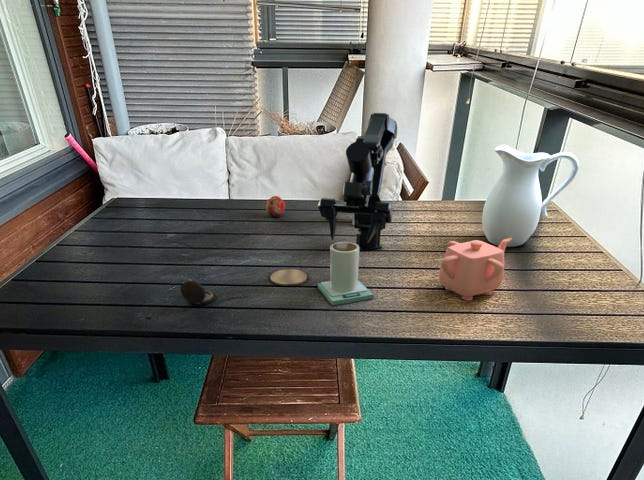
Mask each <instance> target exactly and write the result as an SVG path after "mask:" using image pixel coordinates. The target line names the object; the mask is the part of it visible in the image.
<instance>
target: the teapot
mask: <svg viewBox="0 0 644 480" xmlns="http://www.w3.org/2000/svg"><path fill="white" fill-rule="evenodd" d="M511 240H512V238H506V239H504V240H503V241H502V242H501V243H500V244H499V245H497V246H495V245H492V244H491V243H487V242H485V241H483V240H479V239H473V240H470V241H465V242H458V241H456V240H455V241H454V240H451V241H448V243H447V245H446V246H447V249H446V251H445V253H444V256H443V258H442V259H441V262H440V267H439V273H438V279H439V283H440V284H441V285H443V286H444V287H445V290H447V291H452V292H454V293H456V294H458V295H460V296H461V299H462V300H464V301H472V300H473V298H474V297H473V296H477V295H484V296H491V295H492V291H494V290H497V289H499V287H500V286H501V284H502V283H503V280H504V275H505V251H506V248H507V247H508V246H507V244H508V243H509V242H510V241H511Z"/></svg>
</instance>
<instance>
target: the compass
mask: <svg viewBox="0 0 644 480" xmlns="http://www.w3.org/2000/svg"><path fill="white" fill-rule="evenodd" d="M180 293H181V295H182V297H183V298H184V299H185V300H186V301H188V302H190V303H191V304H193V305H197V306H198V305H199V306H201V305H202V306H203V305H207V304H210V303H212V302H213V301H214V300H215V294H214V293H213V292H211V291H209V290H205V287H204V286H203V285H202V284H201V283H200V282H198V281H196V280H194V279H193V278H191V279H187V280H185V281H183V282H182V284H181V285H180Z"/></svg>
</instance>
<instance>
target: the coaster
mask: <svg viewBox="0 0 644 480" xmlns="http://www.w3.org/2000/svg"><path fill="white" fill-rule="evenodd" d="M307 280H308V275H307V273H306V272H304V271H302V270H299V269H292V268H287V269H279V270H277V271H274V272H272V274H271V275H270V281H271V283H273V284H275V285H278V286H284V287H285V286H286V287H291V286H297V285H300V284H304V282H306V281H307Z"/></svg>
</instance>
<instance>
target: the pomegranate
mask: <svg viewBox="0 0 644 480" xmlns="http://www.w3.org/2000/svg"><path fill="white" fill-rule="evenodd" d="M265 210H266V212H267V214H268V215H269V216H271V217H275V218H280V217H281V216H283V215H284V212H285V210H286V202H285V201H284V200H283V199H282V198H281V197H280V196H279V195H273V196H270V198H268V199H267V200H266V203H265Z"/></svg>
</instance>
